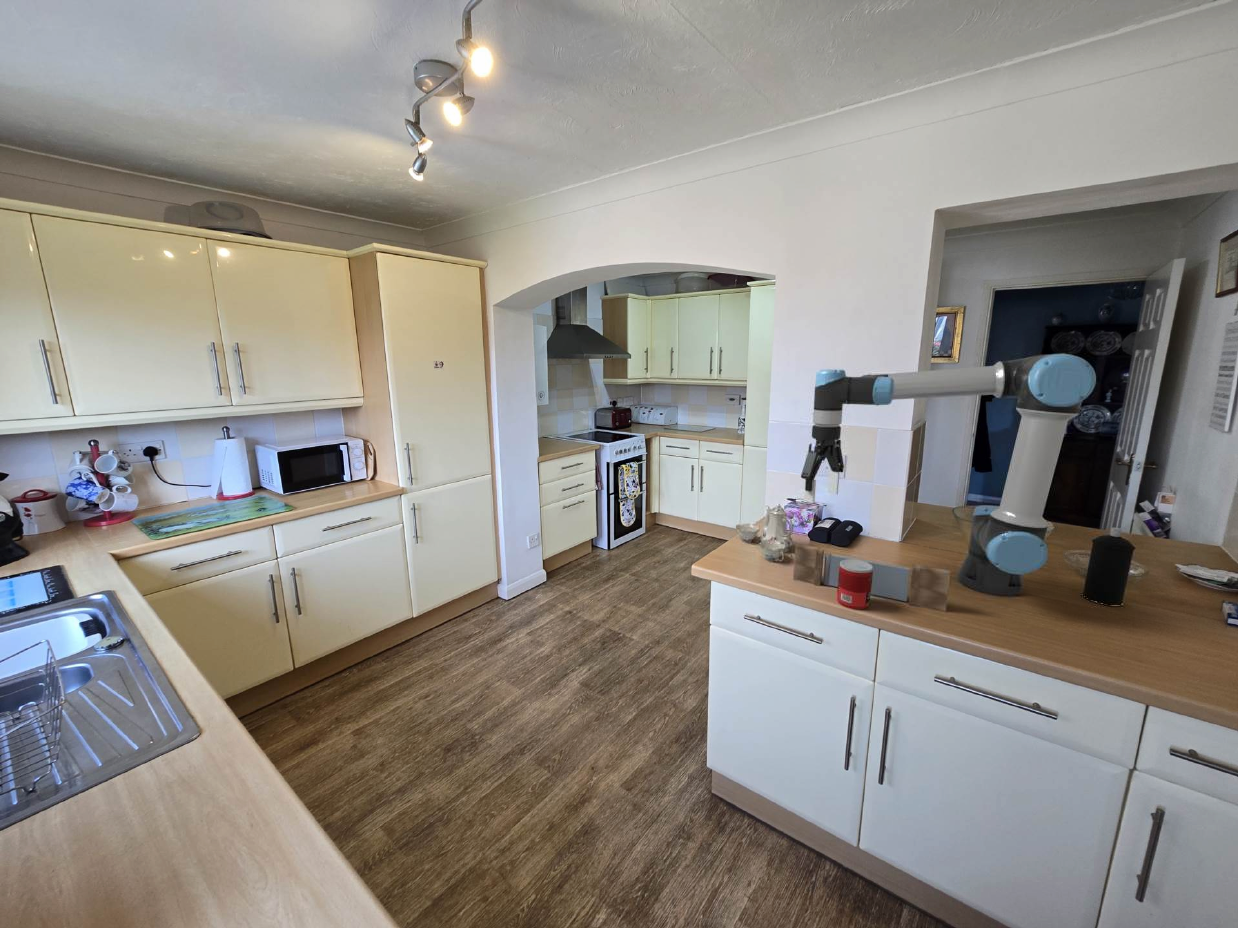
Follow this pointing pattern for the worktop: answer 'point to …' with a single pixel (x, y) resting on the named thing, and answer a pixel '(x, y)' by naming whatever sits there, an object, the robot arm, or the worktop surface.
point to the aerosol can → (1108, 568)
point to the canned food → (854, 584)
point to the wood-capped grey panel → (924, 588)
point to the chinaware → (770, 533)
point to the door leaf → (884, 579)
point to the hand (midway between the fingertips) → (821, 497)
